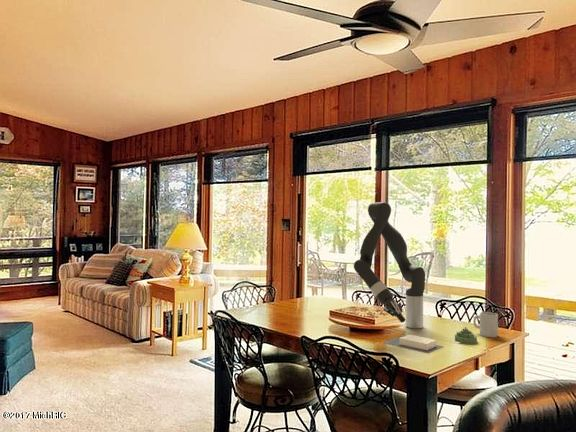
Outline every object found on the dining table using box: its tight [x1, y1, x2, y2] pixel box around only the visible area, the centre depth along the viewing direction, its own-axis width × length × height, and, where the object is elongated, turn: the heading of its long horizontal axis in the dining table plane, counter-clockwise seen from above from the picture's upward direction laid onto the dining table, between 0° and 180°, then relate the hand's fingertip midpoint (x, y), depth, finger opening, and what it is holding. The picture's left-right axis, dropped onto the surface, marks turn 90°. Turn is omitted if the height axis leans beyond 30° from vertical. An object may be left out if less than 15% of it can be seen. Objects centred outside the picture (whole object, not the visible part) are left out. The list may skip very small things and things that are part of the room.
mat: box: [382, 336, 445, 354], centre depth 216 cm, size 24×15×1 cm, turn 45°
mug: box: [473, 311, 499, 338], centre depth 236 cm, size 12×8×11 cm
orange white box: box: [399, 334, 438, 351], centre depth 214 cm, size 3×9×14 cm
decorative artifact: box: [454, 326, 478, 345], centre depth 224 cm, size 10×7×10 cm
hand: (403, 321), depth 220 cm, fingers closed
